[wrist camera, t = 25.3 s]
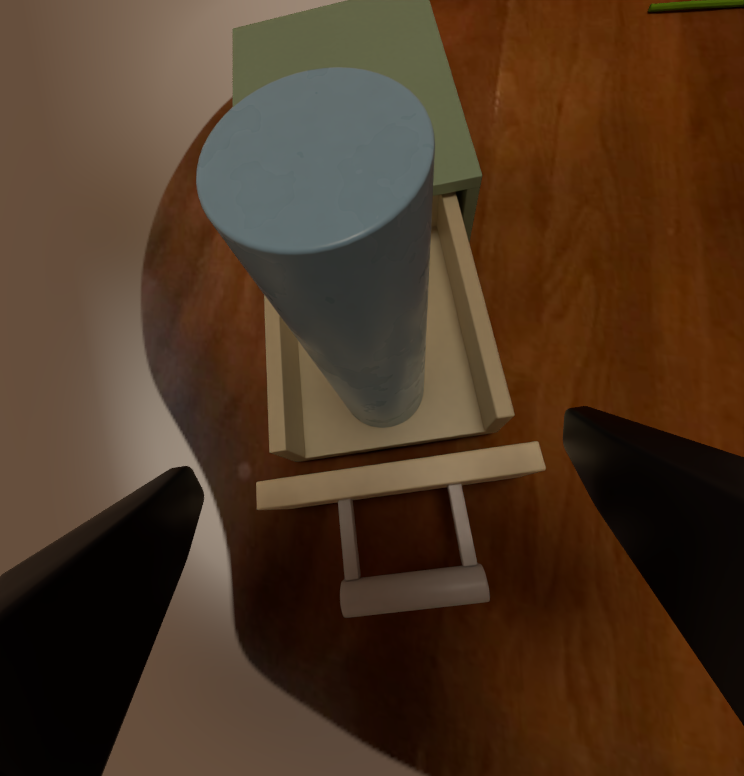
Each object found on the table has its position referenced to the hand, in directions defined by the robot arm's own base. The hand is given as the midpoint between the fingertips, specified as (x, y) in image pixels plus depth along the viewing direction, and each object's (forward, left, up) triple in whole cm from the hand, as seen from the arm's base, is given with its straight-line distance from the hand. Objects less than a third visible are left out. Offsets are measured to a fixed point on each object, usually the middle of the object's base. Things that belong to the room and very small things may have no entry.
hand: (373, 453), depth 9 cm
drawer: (0, +5, -11) cm, 12 cm away
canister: (0, +5, -10) cm, 11 cm away
